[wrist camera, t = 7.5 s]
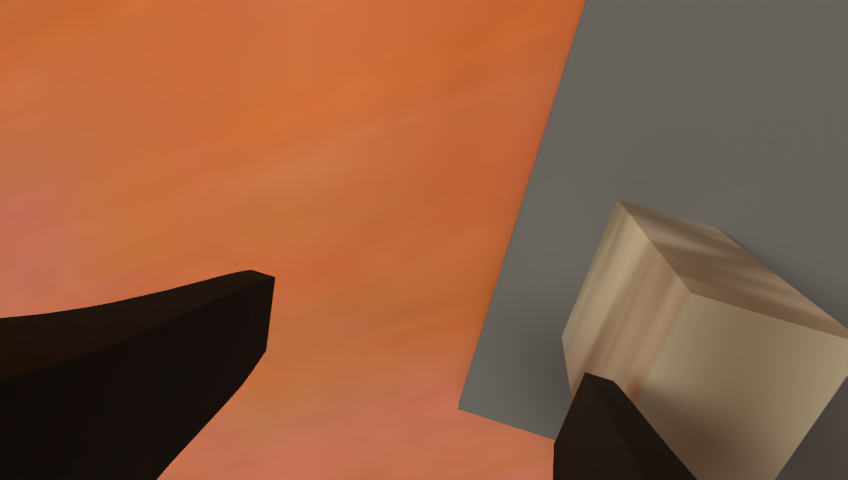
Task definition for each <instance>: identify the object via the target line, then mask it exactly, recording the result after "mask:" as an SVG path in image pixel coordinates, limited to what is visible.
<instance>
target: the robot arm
mask: <svg viewBox="0 0 848 480" xmlns="http://www.w3.org/2000/svg"><path fill="white" fill-rule="evenodd" d="M274 282H275V277H273V276H270V275H266V274H263V273H260V272H257V271H253V270H247V271H241V272H236V273H232V274H227V275H223V276H219V277H216V278H212V279H208V280H204V281H200V282H197V283H193V284H189V285H185V286H181V287H177V288H174V289H170V290H166V291H162V292H157V293H153V294H148V295H144V296H140V297H135V298H131V299H126V300H122V301H117V302H113V303H108V304H103V305H97V306H92V307H86V308H80V309H73V310H67V311H60V312H53V313H46V314H38V315H28V316H18V317H8V318H0V480H157V478H158V477H159V476H160V475H161V474H162V473H163V471H164V470H165V469H166V468H167V467H168V466H169V464H170V463H171V462H172V461H173V460H174V459H175V458H176V457H177V456H178V454H179V453H180V452H181V451H182V450H183V449H184V448H185V447H186V446H187V445H188V444H189V443H190V441H191V440H192V439H193V438H194V437H195V436H196V435H197V434H198V433H199V432H200V431H201V430H202V429H203V427H204V426H205V425H206V424H207V423H208V422H209V421H210V420H211V419H212V418H213V417H214V416H215V414H216V413H217V412H218V411H219V410H220V409H221V408H222V407H223V406H224V405H225V404H226V402H227V401H228V400H229V399H230V398H231V397H232V396H233V395H234V394H235V393H236V391H237V390H238V389H239V388H240V387H241V386H242V384H243V383H244V382H245V380H246V379H247V378H248V376H249V375H250V373H251V372H252V371H253V369H254V368H255V366H256V365H257V363H258V362H259V360H260V359H261V357H262V356H263V354H264V353H265V351H266V347H267V339H268V331H269V323H270V315H271V307H272V298H273V290H274ZM553 480H697V479H696V478H695V477H694V475H693V474H692V473H691V472H690V471H689V470H688V469H687V467H686V466H685V465H684V464H683V463H682V462H681V461H680V459H679V458H678V457H677V456H676V455H675V454H674V452H673V451H672V450H671V449H670V448H669V446H668V445H667V444H666V443H665V442H664V440H663V439H662V438H661V437H660V436H659V434H658V433H657V432H656V431H655V430H654V428H653V427H652V426H651V425H650V423H649V422H648V421H647V420H646V419H645V417H644V416H643V415H642V414H641V412H640V411H639V410H638V409H637V407H636V406H635V405H634V404H633V403H632V401H631V400H630V399H629V398H628V397H627V395H626V394H625V393H624V392H623V391H622V390H621V388H620V387H619V386H618V385H617V384H616V383H615V382H614V381H612V380H609V379H606V378H602V377H599V376H596V375H593V374H589V373H586V372H585V373H584V376H583V378H582V380H581V383H580V385H579V387H578V390H577V392H576V394H575V397H574V399H573V401H572V404H571V406H570V408H569V411H568V413H567V415H566V418H565V420H564V422H563V425H562V427H561V429H560V432H559V434H558V436H557V439H556V441H555V443H554V463H553Z"/></svg>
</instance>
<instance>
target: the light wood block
mask: <svg viewBox="0 0 848 480" xmlns="http://www.w3.org/2000/svg"><path fill="white" fill-rule="evenodd" d="M562 341H563V348H564V354H565V361H566V367H567V373H568V380H569V386H570V393H571V399H572V401H573V399H574V397H575V394H576V392H577V390H578V387H579V385H580V383H581V380H582V378H583V376H584V373H585V372H586V373H589V374H593V375H596V376H599V377H602V378H606V379H609V380H612V381H614V382H615V383H616V384H617V385H618V386H619V387H620V388H621V390H622V391H623V392H624V393H625V394H626V395H627V397H628V398H629V399H630V400H631V401H632V403H633V404H634V405H635V406H636V407H637V409H638V410H639V411H640V412H641V414H642V415H643V416H644V417H645V419H646V420H647V421H648V422H649V423H650V425H651V426H652V427H653V428H654V430H655V431H656V432H657V433H658V434H659V436H660V437H661V438H662V439H663V440H664V442H665V443H666V444H667V445H668V446H669V448H670V449H671V450H672V451H673V452H674V454H675V455H676V456H677V457H678V458H679V459H680V461H681V462H682V463H683V464H684V465H685V466H686V467H687V469H688V470H689V471H690V472H691V473H692V474H693V475H694V477H695V478H696V479H697V480H775V478H776V477H777V476H778V474H779V473H780V471H781V470H782V468H783V467H784V466H785V464H786V463H787V461H788V460H789V458H790V457H791V456H792V454H793V453H794V451H795V450H796V448H797V447H798V446H799V444H800V443H801V441H802V440H803V438H804V437H805V436H806V434H807V433H808V431H809V430H810V428H811V427H812V426H813V424H814V423H815V421H816V420H817V418H818V417H819V416H820V414H821V413H822V411H823V410H824V408H825V407H826V406H827V404H828V403H829V401H830V400H831V398H832V397H833V395H834V394H835V393H836V391H837V390H838V388H839V387H840V385H841V384H842V383H843V381H844V380H845V378H846V377H847V375H848V329H846V328H845V327H844V326H842V325H841V324H840V323H839V322H837V321H836V320H835V319H833V318H832V317H831V316H830V315H828V314H827V313H826V312H824V311H823V310H822V309H820V308H819V307H818V306H817V305H815V304H814V303H813V302H811V301H810V300H809V299H808V298H806V297H805V296H804V295H802V294H801V293H800V292H798V291H797V290H796V289H795V288H793V287H792V286H791V285H789V284H788V283H787V282H786V281H784V280H783V279H782V278H780V277H779V276H778V275H776V274H775V273H774V272H773V271H771V270H770V269H769V268H767V267H766V266H765V265H764V264H762V263H761V262H760V261H758V260H757V259H756V258H754V257H753V256H752V255H751V254H749V253H748V252H747V251H745V250H744V249H743V248H742V247H740V246H739V245H738V244H736V243H735V242H734V241H732V240H731V239H730V238H729V237H727V236H726V235H725V234H723V233H722V232H721V231H720V230H718V229H717V228H716V227H713V226H709V225H706V224H702V223H698V222H695V221H691V220H688V219H684V218H681V217H677V216H674V215H670V214H666V213H663V212H659V211H656V210H652V209H649V208H645V207H641V206H638V205H634V204H631V203H627V202H624V201H620V200H618V201H617V203H616V206H615V208H614V210H613V213H612V215H611V218H610V220H609V223H608V225H607V227H606V230H605V232H604V235H603V237H602V240H601V242H600V245H599V247H598V249H597V252H596V254H595V257H594V259H593V262H592V264H591V266H590V269H589V271H588V274H587V276H586V279H585V281H584V284H583V286H582V288H581V291H580V293H579V296H578V298H577V301H576V303H575V305H574V308H573V310H572V313H571V315H570V318H569V320H568V322H567V325H566V327H565V330H564V332H563V335H562Z"/></svg>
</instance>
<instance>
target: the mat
mask: <svg viewBox="0 0 848 480" xmlns="http://www.w3.org/2000/svg"><path fill="white" fill-rule="evenodd" d="M618 200H620V201H624V202H627V203H631V204H634V205H638V206H641V207H645V208H649V209H652V210H656V211H659V212H663V213H666V214H670V215H674V216H677V217H681V218H684V219H688V220H691V221H695V222H698V223H702V224H706V225H709V226H713V227H716V228H717V229H718V230H720V231H721V232H722V233H723V234H725V235H726V236H727V237H729V238H730V239H731V240H732V241H734V242H735V243H736V244H738V245H739V246H740V247H742V248H743V249H744V250H745V251H747V252H748V253H749V254H751V255H752V256H753V257H754V258H756V259H757V260H758V261H760V262H761V263H762V264H764V265H765V266H766V267H767V268H769V269H770V270H771V271H773V272H774V273H775V274H776V275H778V276H779V277H780V278H782V279H783V280H784V281H786V282H787V283H788V284H789V285H791V286H792V287H793V288H795V289H796V290H797V291H798V292H800V293H801V294H802V295H804V296H805V297H806V298H808V299H809V300H810V301H811V302H813V303H814V304H815V305H817V306H818V307H819V308H820V309H822V310H823V311H824V312H826V313H827V314H828V315H830V316H831V317H832V318H833V319H835V320H836V321H837V322H839V323H840V324H841V325H842V326H844V327H845V328H846V329H848V0H586V1H585V4H584V8H583V11H582V14H581V17H580V20H579V24H578V27H577V30H576V33H575V36H574V39H573V43H572V46H571V49H570V52H569V55H568V58H567V62H566V65H565V68H564V71H563V74H562V78H561V81H560V84H559V87H558V90H557V93H556V97H555V100H554V103H553V106H552V109H551V112H550V116H549V119H548V122H547V125H546V128H545V131H544V135H543V138H542V141H541V144H540V147H539V151H538V154H537V157H536V160H535V163H534V166H533V170H532V173H531V176H530V179H529V182H528V185H527V189H526V192H525V195H524V198H523V201H522V205H521V208H520V211H519V214H518V217H517V220H516V224H515V227H514V230H513V233H512V236H511V239H510V243H509V246H508V249H507V252H506V255H505V259H504V262H503V265H502V268H501V271H500V274H499V278H498V281H497V284H496V287H495V290H494V293H493V297H492V300H491V303H490V306H489V309H488V313H487V316H486V319H485V322H484V325H483V328H482V332H481V335H480V338H479V341H478V344H477V347H476V351H475V354H474V357H473V360H472V363H471V367H470V370H469V373H468V376H467V379H466V382H465V386H464V389H463V392H462V395H461V398H460V402H459V407H458V409H460V410H463V411H467V412H470V413H473V414H476V415H479V416H482V417H485V418H488V419H491V420H495V421H498V422H501V423H504V424H507V425H510V426H513V427H516V428H519V429H523V430H526V431H529V432H532V433H535V434H538V435H541V436H544V437H547V438H551V439H554V440H556V439H557V436H558V434H559V432H560V429H561V427H562V425H563V422H564V420H565V418H566V415H567V413H568V411H569V408H570V406H571V404H572V399H571V393H570V386H569V380H568V373H567V367H566V361H565V354H564V348H563V341H562V335H563V332H564V330H565V327H566V325H567V322H568V320H569V318H570V315H571V313H572V310H573V308H574V305H575V303H576V301H577V298H578V296H579V293H580V291H581V288H582V286H583V284H584V281H585V279H586V276H587V274H588V271H589V269H590V266H591V264H592V262H593V259H594V257H595V254H596V252H597V249H598V247H599V245H600V242H601V240H602V237H603V235H604V232H605V230H606V227H607V225H608V223H609V220H610V218H611V215H612V213H613V210H614V208H615V206H616V203H617V201H618ZM775 480H848V375H847V377H846V378H845V380H844V381H843V383H842V384H841V385H840V387H839V388H838V390H837V391H836V393H835V394H834V395H833V397H832V398H831V400H830V401H829V403H828V404H827V406H826V407H825V408H824V410H823V411H822V413H821V414H820V416H819V417H818V418H817V420H816V421H815V423H814V424H813V426H812V427H811V428H810V430H809V431H808V433H807V434H806V436H805V437H804V438H803V440H802V441H801V443H800V444H799V446H798V447H797V448H796V450H795V451H794V453H793V454H792V456H791V457H790V458H789V460H788V461H787V463H786V464H785V466H784V467H783V468H782V470H781V471H780V473H779V474H778V476H777V477H776V478H775Z"/></svg>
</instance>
